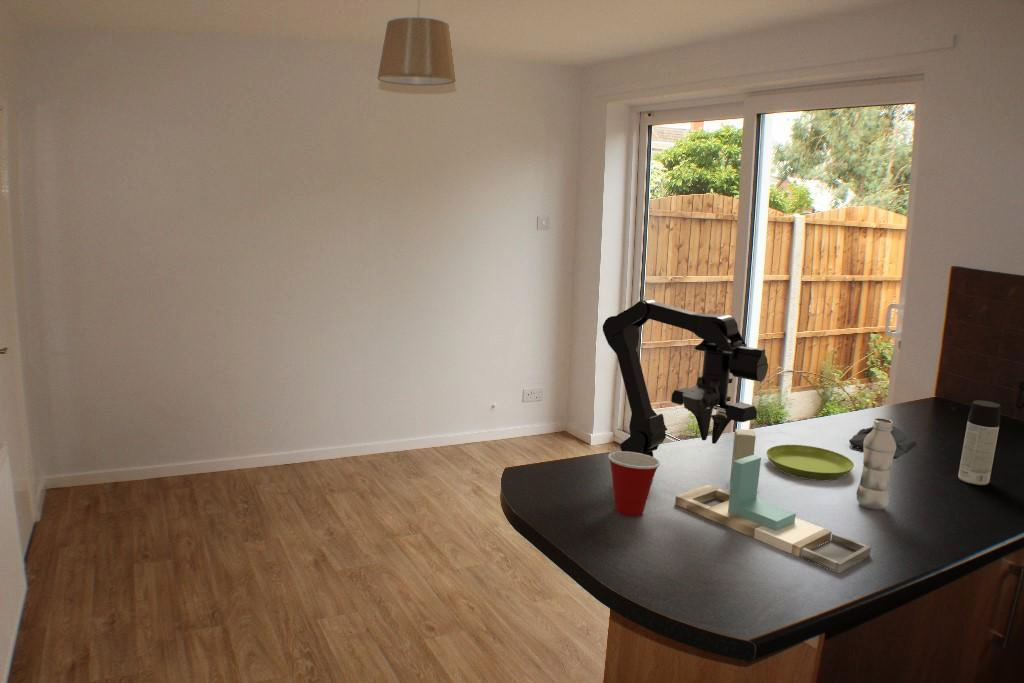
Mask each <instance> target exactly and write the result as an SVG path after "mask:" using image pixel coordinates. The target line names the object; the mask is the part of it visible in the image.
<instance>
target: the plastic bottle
mask: <svg viewBox="0 0 1024 683" xmlns="http://www.w3.org/2000/svg"><path fill="white" fill-rule="evenodd" d="M892 426H893V420H890V419H886V418H880V417H876V418H874V420H873V424H872V426H871V427H873V428H874V429H873V430H872V431H871V432H870V433H869V434H868V435H867V436H866V437H865V439H864V443H863V445H864V446H863V448H864V449H863V462H862V463H863V466H862V472H861V476H860V480H859V484H858V486H857V490H856V501H857V503H858V504H859V505H861V506H862V507H865V508H867V509H871V510H876V511H877V510H880V511H881V510H884V509H886V508H887V507H888V505H889V503H890V502H889V501H890V488H889V487H890V473H891V468H892V464H893V460H894V458H893V457H894V454H895V451H896V442H895V440H894V438H893V436H892V435H891V433H890V431H892Z"/></svg>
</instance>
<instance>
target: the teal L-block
mask: <svg viewBox="0 0 1024 683" xmlns="http://www.w3.org/2000/svg"><path fill="white" fill-rule="evenodd" d="M761 461H762V458H761V457H759V456H757V455H755V454H754V455H751V456H748V457H745V458H742V459H738V460H735V461H733V469H732V478H731V481H730V490H729V492H730V497H729V506H728V512H730V513H733V514H735V515H738V516H740V517H743V518H745V519H748V520H750V521H753V522H755V523H757V524H760V525H762V526H765V527H767V528H770V529H772V530H775V531H777V530H779V529H781V528H783V527H786V526H788V525H790V524H792V523H795V518H796V516H797V515H796V513H797V512H794V511H791V510H788V509H786V508H784V507H780V506H778V505H775V504H773V503H770V502H768V501H764V500H763V499H759V498H757V496H758V487H759V479H760V470H761V464H762V463H761Z"/></svg>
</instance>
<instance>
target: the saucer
mask: <svg viewBox="0 0 1024 683" xmlns="http://www.w3.org/2000/svg"><path fill="white" fill-rule="evenodd" d="M765 453H766V456H767V458H768V460H769V461H770V462H771V464H772V465H773V466H774V467H775V468H776V469H777V470H779V471H780V472H783V473H784V472H785V474H787V475H790V476H792V477H795V478H800V479H805V480H812V481H833V480H837V479H838V480H839V479H840V478H843V477H844V476H846V475H847V474H849V473H850V472H851V471H852V470H853V469H854V467H855V464H854V462H853V461H852V460H851V458H849V457H847V456H845V455H844V454H841V453H838V452H836V451H833V450H829V449H825V448H822V447H817V446H810V445H803V444H780V445H779V444H778V445H774V446H771V447H770V448H768V449H767V450H766V452H765Z"/></svg>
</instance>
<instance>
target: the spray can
mask: <svg viewBox="0 0 1024 683" xmlns="http://www.w3.org/2000/svg"><path fill="white" fill-rule="evenodd" d="M1001 411H1002V405H1001V404H999V403H996V402H993V401H988V400H979V399H978V400H973V401H972V403H971V406H970V410H969V413H968V418H967V422H966V428H965V429H966V430H965V435H964V439H963V445H962V452H961V457H960V458H961V459H960V463H959V470H958V474H957V475H958V479H959V480H960V481H962V482H964V483H967V484H973V485H977V486H985V485H989V483H990V481H991V474H992V468H993V463H994V457H995V451H996V446H997V440H998V435H999V429H1000V423H1001Z"/></svg>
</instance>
